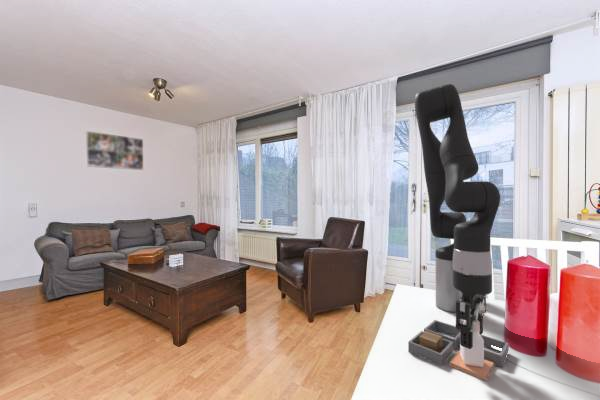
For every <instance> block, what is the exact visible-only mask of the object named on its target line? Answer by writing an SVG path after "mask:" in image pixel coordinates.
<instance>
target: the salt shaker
mask: <svg viewBox="0 0 600 400" xmlns="http://www.w3.org/2000/svg"><path fill="white" fill-rule="evenodd" d="M463 324H465V325H466V320H464V322H463ZM479 331H480V322H479V321H478V320H477V322H475V323H474V326H473V347H472V348H471V349H468V348H466V347H463V346H461V344H460V345H459V350H460V355H461V357H462V359H463V362H464V363H465V364H466V365H471V366H477V367H483V366H484V349H485V346H484V340H483V338H482V336H481V335H482V334H481V335H480V334H479Z"/></svg>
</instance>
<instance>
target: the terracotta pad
mask: <svg viewBox="0 0 600 400" xmlns="http://www.w3.org/2000/svg"><path fill="white" fill-rule="evenodd" d="M449 366H450V367H452V368H455V369H456V370H459V371H462V372H463V373H466V374H468V375H471V376H473V377H476V378H479V379H480V380H483V381H484V382H486V381H487V379H488V378H489V377H490V374H491V372H492V370H493V369H494V366H495V364H494V363H493V362H490V361H488V360H485V359H484V366H483V367H477V366H471V365H466V364H465V363H464V362H463V359H462V357H461V355H460V349H459V350H458V351H457V352H456V354H455V355H454V356H453V357H452V358H451V360H450V361H449Z"/></svg>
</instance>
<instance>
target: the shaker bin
mask: <svg viewBox="0 0 600 400" xmlns="http://www.w3.org/2000/svg"><path fill="white" fill-rule="evenodd" d="M480 335H481V336H482V338H483V340H484V347H485V348H486V347H487V348H488V350H487V349H485V348H484V359H485V360H488V361H490V362H493V363H494V366H497V367H500V368H503V366H504V363H505V362H506V359H507V358H506V355H507V353H508V351H509V349H510V348H509V347H510V346H509V345H510V343H508V342H506V341H502V340H500V339H497V338H494V337H490V336H486V335H484V334H480ZM491 345H493V346H496V347H499V348H502V351H500V353H497V352H494V351H491V350H489V348H490V349H492V348H491ZM509 352H510V351H509Z"/></svg>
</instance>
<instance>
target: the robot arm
mask: <svg viewBox="0 0 600 400" xmlns="http://www.w3.org/2000/svg"><path fill="white" fill-rule="evenodd" d="M458 91H459V90H458V89H457V88H456V86H455V85H454V84H450V83H449V84H444V85H440V86H436V87H433V88H428V89H425V90H422V91H420V92H417V93H416V94H415V97H414V111H415V116H416V122H417V126H418V132H419V137H420V142H421V149H422V160H423V171H424V179H425V182H426V189H427V195H428V203H429V205H428V206H429V208H428V209H429V221H430V223H429V225H430V232H431V234H432V236H433V237H434V238H438V239H448V240H449V239H451V240H453V243H451V244H449V245H446V246H441V247H438V248H436V249H435V254H434V256H435V306H436V307H437V308H439V309H441V310H443V311H445V312H450V313H451V312H452V313H455V326H456V329H460V344H461V346H463V347H466V348H468V349H471V348H472V347H473V326H474V323H475V322H477V320H478V321H479V322H480V331H479V334H481V335H483V334H484V318H485V315H486V313H487V311H488V310H487V295H489V294H491V293H492V291H493V261H492V259H493V258H492V255H491V233H492V228H493V226H494V222H495V219H496V216H497V212H498V210H499V208H500V204H501V193H500V190H499V188H498V187H497V185H496V184H494V183H493V182H490V181H466V180H469V179H472V178H473V177H475V176H476V175H477V174H478V172H479V164H478V160H477V158H476V156H475V153H474V151H473V148H472V145H471V143H470V141H469V136H468V131H467V126H466V120H465V116H464V111H463V106H462V102H461V97H460V94H459V92H458ZM448 118H449V125H448V127H447V130H446V132H445V135H444V136H443V138H442V141H440V139H438V137H437V136H436V134H435V133H434V132H433V130H432V128H431V123H434V122H439V121H443V120H445V119H448ZM444 202H445V205H446V206H447V208H448V209H449V210H450V211H452V212H447V211H446V212H445V211H444V212H443V211H441V207H442V205H443V203H444ZM464 213H473V215H472V217H471V219H469V220H467V217H466V215H465V214H464ZM464 320H466V325H465V324H464V323H463V322H464Z"/></svg>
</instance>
